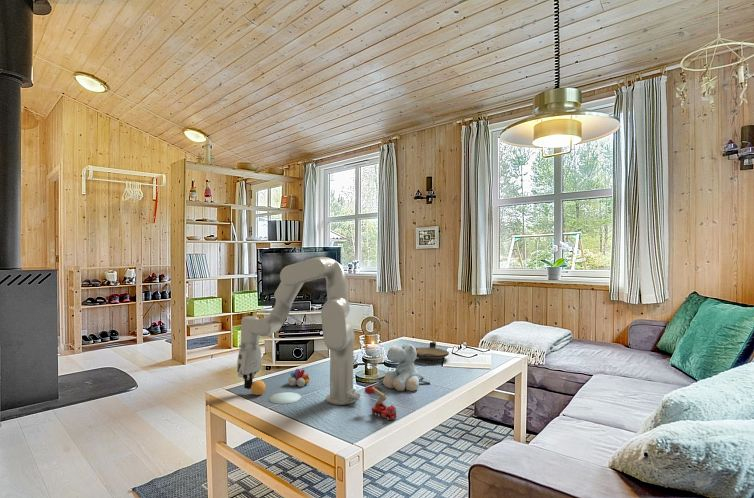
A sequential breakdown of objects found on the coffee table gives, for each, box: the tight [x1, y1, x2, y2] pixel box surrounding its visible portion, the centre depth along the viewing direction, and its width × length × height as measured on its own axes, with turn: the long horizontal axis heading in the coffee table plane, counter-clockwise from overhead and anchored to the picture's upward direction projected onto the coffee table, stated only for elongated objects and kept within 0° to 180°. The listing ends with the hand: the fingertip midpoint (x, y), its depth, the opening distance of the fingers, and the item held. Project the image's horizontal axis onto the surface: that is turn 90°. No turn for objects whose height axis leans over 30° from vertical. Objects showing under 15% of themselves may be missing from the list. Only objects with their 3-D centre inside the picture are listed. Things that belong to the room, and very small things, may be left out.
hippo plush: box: [382, 343, 431, 392], centre depth 190 cm, size 18×23×18 cm
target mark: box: [268, 391, 302, 405], centre depth 173 cm, size 13×13×1 cm
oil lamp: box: [415, 339, 450, 361], centre depth 238 cm, size 22×30×8 cm
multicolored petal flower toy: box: [287, 368, 311, 388], centre depth 191 cm, size 8×10×7 cm
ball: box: [250, 379, 266, 396], centre depth 177 cm, size 6×6×6 cm
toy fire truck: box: [364, 385, 397, 421], centre depth 156 cm, size 3×14×10 cm, turn 48°
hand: (248, 388), depth 179 cm, fingers closed
